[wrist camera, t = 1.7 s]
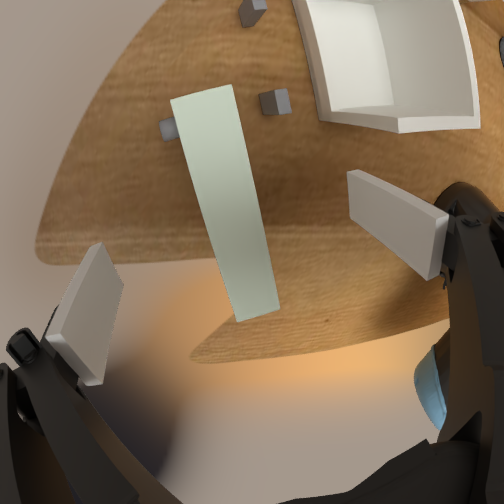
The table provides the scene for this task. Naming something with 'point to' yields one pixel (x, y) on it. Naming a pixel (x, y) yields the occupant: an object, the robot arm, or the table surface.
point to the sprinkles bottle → (465, 0)
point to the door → (226, 195)
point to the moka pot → (502, 50)
